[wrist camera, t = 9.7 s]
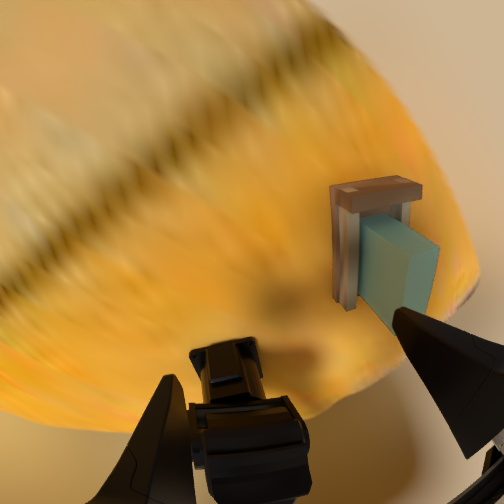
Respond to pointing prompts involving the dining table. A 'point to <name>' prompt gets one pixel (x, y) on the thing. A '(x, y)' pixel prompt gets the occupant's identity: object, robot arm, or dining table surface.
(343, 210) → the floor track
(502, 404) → the robot arm
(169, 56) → the dining table surface
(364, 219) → the pale teal rectangular prism
